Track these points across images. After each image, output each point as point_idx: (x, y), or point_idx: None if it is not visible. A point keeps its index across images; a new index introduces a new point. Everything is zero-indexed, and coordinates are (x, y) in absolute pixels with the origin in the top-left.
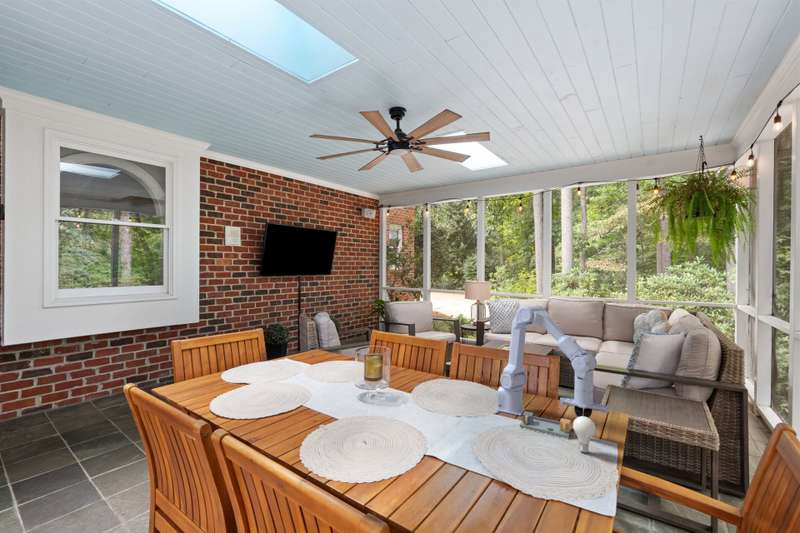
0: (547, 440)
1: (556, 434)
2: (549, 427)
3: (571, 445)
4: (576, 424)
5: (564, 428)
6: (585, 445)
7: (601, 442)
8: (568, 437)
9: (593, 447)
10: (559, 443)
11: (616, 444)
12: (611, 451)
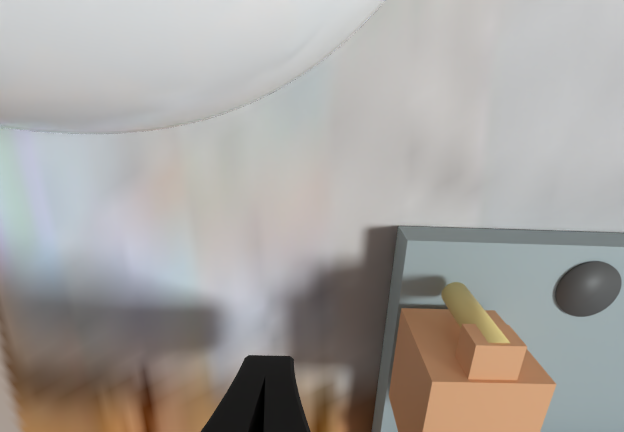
0: (619, 76)
1: (520, 238)
2: (585, 336)
3: (371, 90)
4: None
5: (471, 303)
6: None
7: (123, 315)
8: (403, 231)
9: (167, 168)
10: (494, 69)
11: (11, 339)
12: (6, 170)
